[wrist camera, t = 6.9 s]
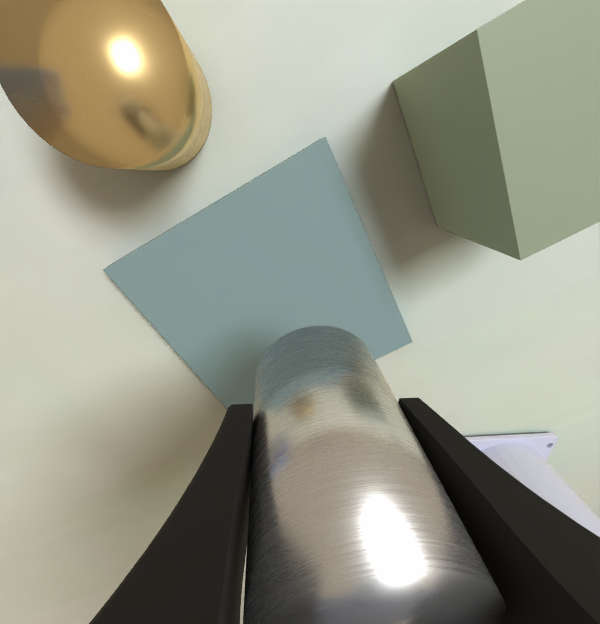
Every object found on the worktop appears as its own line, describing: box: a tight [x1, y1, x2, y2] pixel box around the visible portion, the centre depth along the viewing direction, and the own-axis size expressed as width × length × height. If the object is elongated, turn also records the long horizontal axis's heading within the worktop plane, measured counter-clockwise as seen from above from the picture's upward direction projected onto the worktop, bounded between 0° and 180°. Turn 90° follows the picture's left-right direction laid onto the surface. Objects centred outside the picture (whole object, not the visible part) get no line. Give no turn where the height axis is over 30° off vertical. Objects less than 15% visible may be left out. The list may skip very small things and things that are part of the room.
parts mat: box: [103, 137, 412, 418], centre depth 17 cm, size 12×12×1 cm
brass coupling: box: [0, 0, 212, 171], centre depth 11 cm, size 5×5×4 cm
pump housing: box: [393, 0, 600, 260], centre depth 12 cm, size 5×7×6 cm
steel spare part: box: [243, 325, 505, 624], centre depth 8 cm, size 4×4×7 cm
